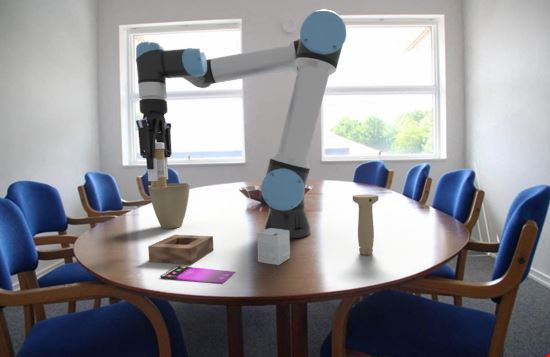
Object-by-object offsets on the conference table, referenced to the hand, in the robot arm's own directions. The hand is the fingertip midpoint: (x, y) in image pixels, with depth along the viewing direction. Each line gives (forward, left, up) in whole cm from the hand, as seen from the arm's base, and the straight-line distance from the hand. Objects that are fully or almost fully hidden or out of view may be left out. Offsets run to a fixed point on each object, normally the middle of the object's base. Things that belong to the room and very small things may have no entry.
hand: (158, 179), depth 97 cm
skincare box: (-37, +7, -20) cm, 42 cm away
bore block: (-12, +8, -20) cm, 24 cm away
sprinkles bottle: (0, 0, -3) cm, 3 cm away
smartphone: (-23, +20, -20) cm, 37 cm away
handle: (-59, -2, -20) cm, 62 cm away
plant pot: (+12, -24, -20) cm, 33 cm away
